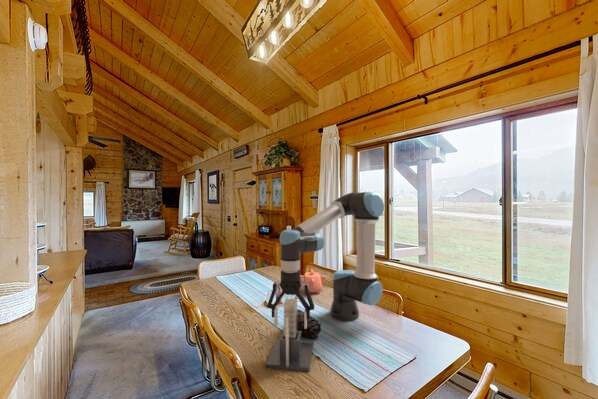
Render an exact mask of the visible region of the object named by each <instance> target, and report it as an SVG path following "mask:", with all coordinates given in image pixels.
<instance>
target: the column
mask: <svg viewBox="0 0 598 399" xmlns="http://www.w3.org/2000/svg"><path fill="white" fill-rule="evenodd" d="M297 309H298V298H297V299H295V298H294V299H293V298H285V300H284V302H283V330H284V339H286V316H289V318H290V321H289V339H297Z"/></svg>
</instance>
